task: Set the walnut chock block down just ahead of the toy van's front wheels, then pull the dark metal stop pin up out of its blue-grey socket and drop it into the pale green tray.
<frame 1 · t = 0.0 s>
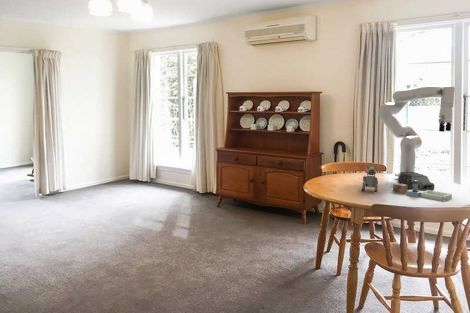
hand: (444, 131, 275), 37 cm above the table, tool pointing down, fingers open, 9 cm apart
stop pin: (415, 187, 252), in the pin socket
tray: (435, 197, 247), on the table
chock: (399, 192, 260), on the table
pin socket: (414, 195, 252), on the table
figurine: (370, 191, 264), on the table
toy van: (415, 189, 269), on the table
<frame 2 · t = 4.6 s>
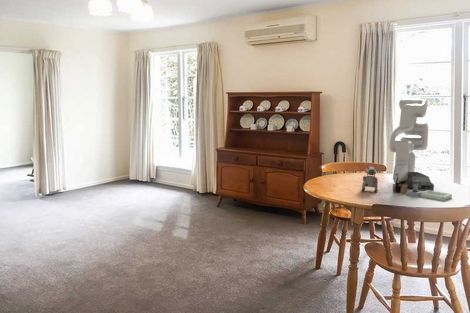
hand: (399, 191, 260), 1 cm above the table, tool pointing down, fingers closed on chock, 4 cm apart
chock: (399, 192, 260), on the table, touching gripper
toy van: (417, 189, 269), on the table
everything else where it was.
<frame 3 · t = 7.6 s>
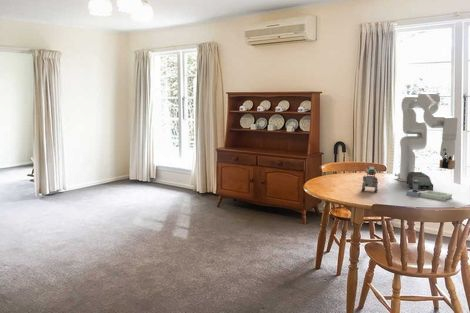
hand: (446, 167, 253), 17 cm above the table, tool pointing down, fingers closed on chock, 4 cm apart
chock: (446, 168, 253), point 16 cm above the table, touching gripper
when the fingers open (2 cm above the table, at t = 10.6 s): chock drops 1 cm, on the table.
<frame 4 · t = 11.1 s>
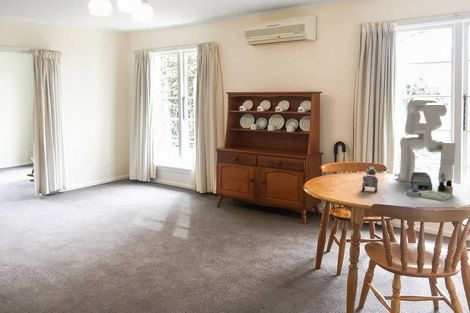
hand: (445, 189, 255), 3 cm above the table, tool pointing down, fingers open, 9 cm apart
chock: (444, 194, 255), on the table
toy van: (420, 190, 268), on the table
everything else where it was.
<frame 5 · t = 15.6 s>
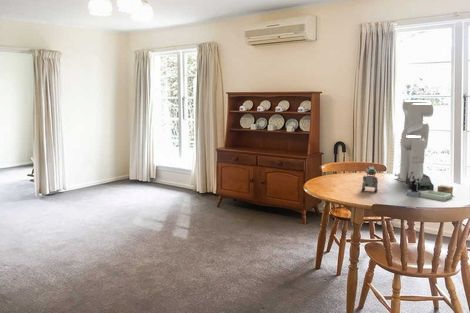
hand: (415, 190, 252), 3 cm above the table, tool pointing down, fingers closed on stop pin, 2 cm apart
stop pin: (415, 187, 252), in the pin socket, touching gripper
toy van: (418, 190, 268), on the table
everything else where it was.
when the fingers open (6 cm above the table, at t = 19.4 s): stop pin drops 2 cm, resting on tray.
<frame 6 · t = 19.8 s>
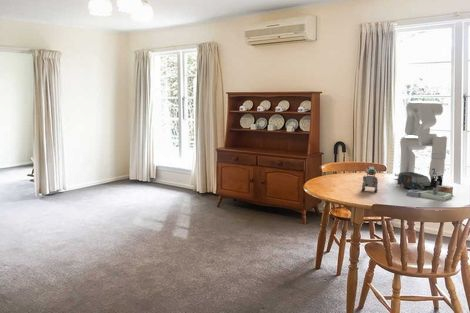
hand: (436, 186, 246), 7 cm above the table, tool pointing down, fingers open, 7 cm apart
stop pin: (435, 188, 246), in the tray, point 5 cm above the table
toy van: (415, 190, 268), on the table
everything else where it was.
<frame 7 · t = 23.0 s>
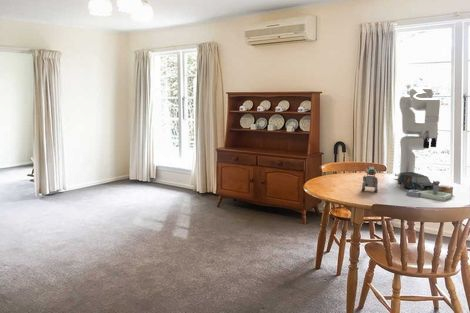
hand: (429, 147, 254), 28 cm above the table, tool pointing down, fingers open, 9 cm apart
nothing on the table moved.
at the end: chock inside the target area on the table beside the toy van (1.4 cm from its centre), on the table; stop pin inside the target area on the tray (0.3 cm from its centre), point 5.1 cm above the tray's base; the gripper is holding nothing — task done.
